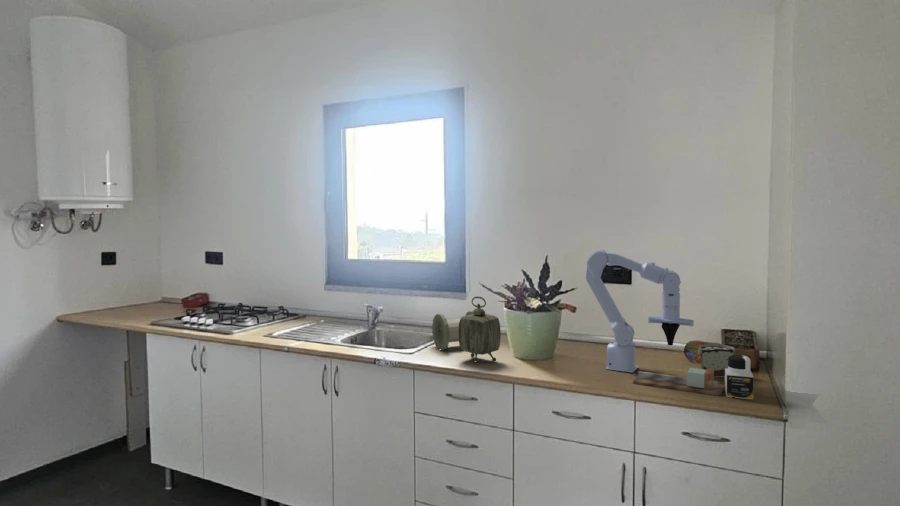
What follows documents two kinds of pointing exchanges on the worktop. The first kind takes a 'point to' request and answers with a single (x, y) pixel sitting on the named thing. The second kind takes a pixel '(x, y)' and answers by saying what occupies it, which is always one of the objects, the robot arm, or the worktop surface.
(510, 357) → the worktop surface
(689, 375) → the pale green block
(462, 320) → the tabletop clock
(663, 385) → the rail board
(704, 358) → the food container
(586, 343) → the worktop surface
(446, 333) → the spool
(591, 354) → the worktop surface
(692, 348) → the tin
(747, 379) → the medicine bottle
